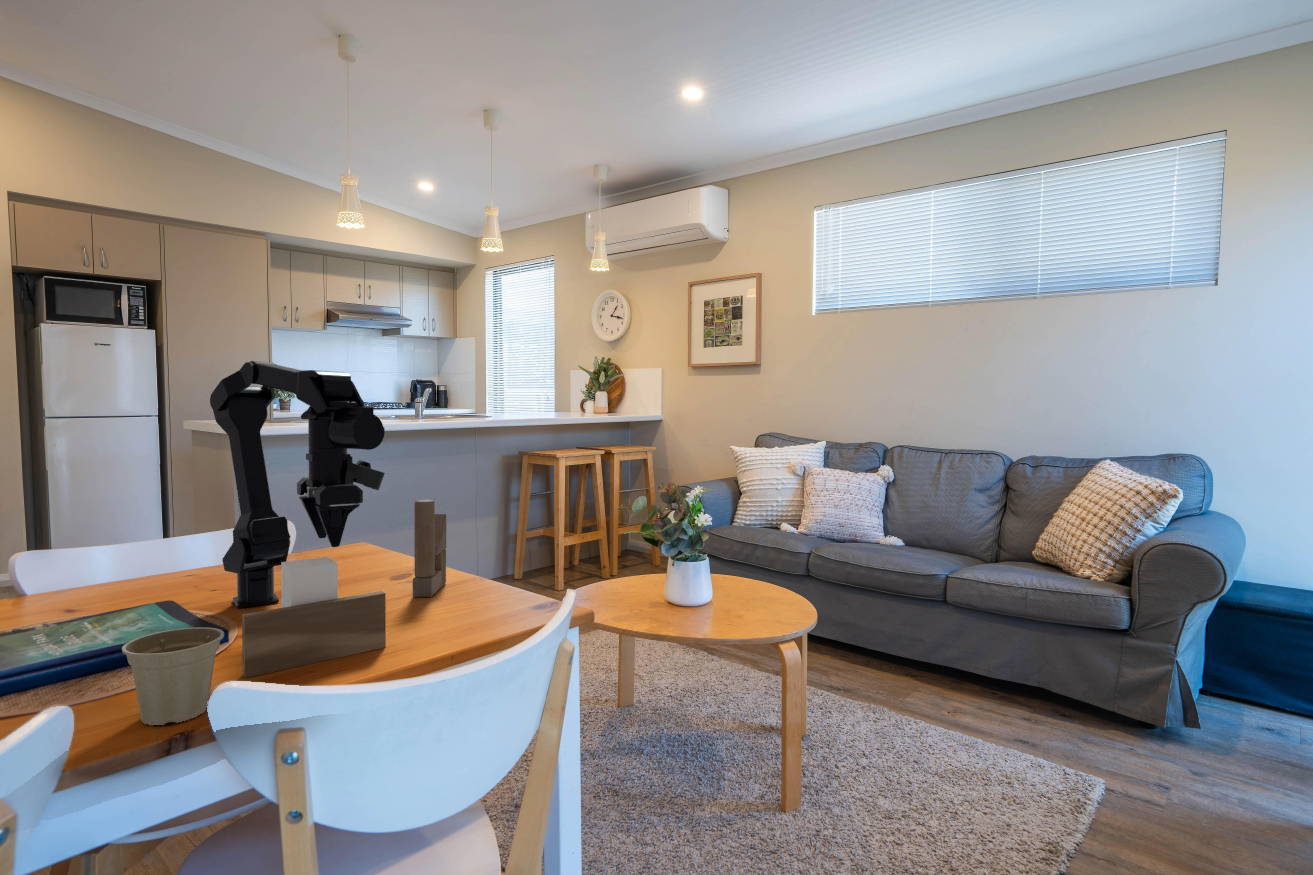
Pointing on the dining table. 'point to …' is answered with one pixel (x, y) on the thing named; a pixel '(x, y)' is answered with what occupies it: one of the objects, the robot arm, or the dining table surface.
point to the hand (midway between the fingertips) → (328, 542)
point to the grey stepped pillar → (429, 549)
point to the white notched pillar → (308, 581)
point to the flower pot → (173, 672)
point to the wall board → (312, 632)
